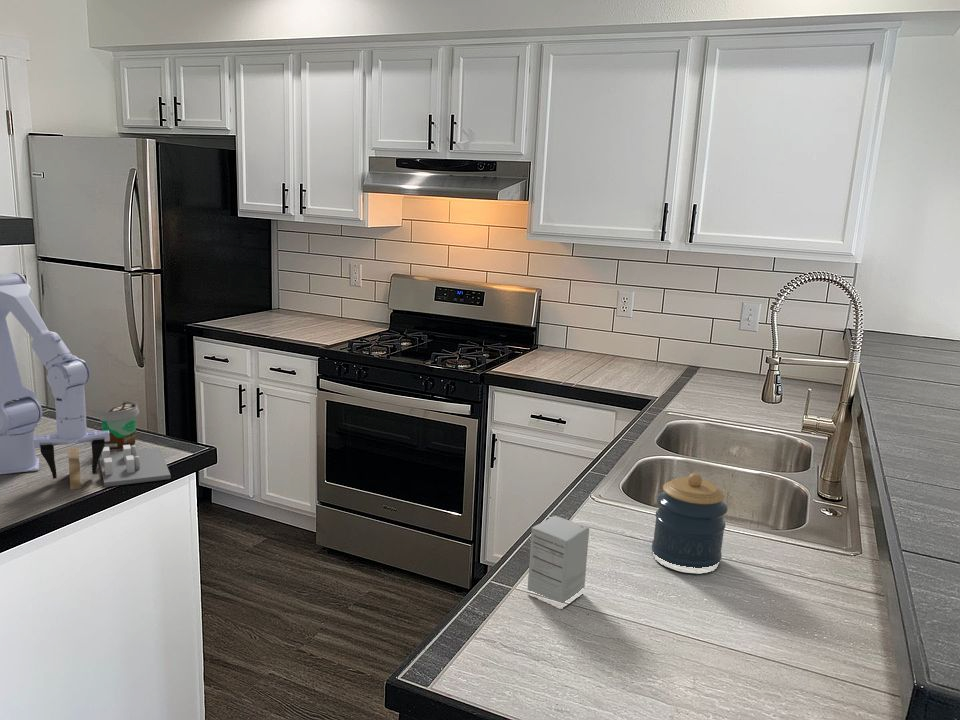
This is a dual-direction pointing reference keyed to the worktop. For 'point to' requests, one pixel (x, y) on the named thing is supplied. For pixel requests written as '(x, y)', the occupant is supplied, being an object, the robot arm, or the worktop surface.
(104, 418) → the food container
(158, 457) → the board
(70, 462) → the oak block
